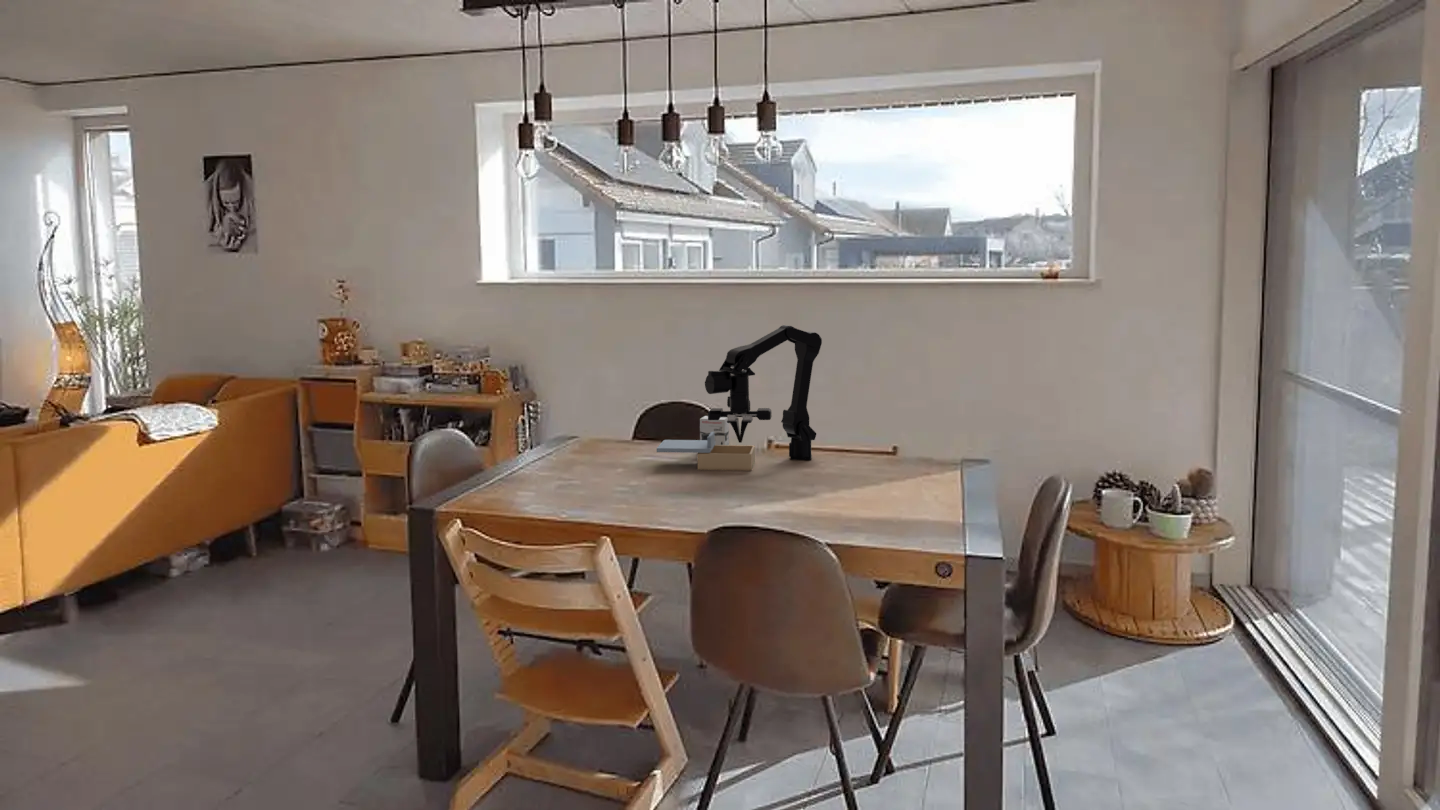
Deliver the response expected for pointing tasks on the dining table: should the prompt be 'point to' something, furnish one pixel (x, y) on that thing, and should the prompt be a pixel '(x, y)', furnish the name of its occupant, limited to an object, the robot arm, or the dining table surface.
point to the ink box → (715, 430)
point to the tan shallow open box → (728, 458)
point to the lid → (688, 445)
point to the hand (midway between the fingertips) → (740, 442)
